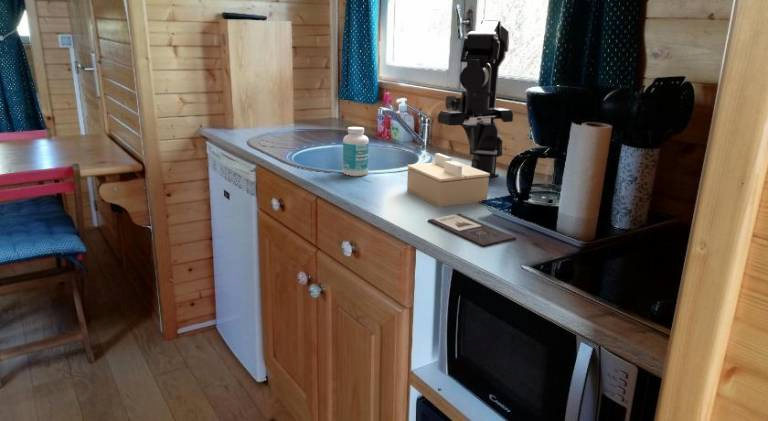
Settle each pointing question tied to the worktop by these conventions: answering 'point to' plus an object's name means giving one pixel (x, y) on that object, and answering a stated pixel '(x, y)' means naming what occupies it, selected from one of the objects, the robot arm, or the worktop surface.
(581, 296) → the worktop surface
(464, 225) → the chocolate bar
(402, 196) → the worktop surface
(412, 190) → the carton
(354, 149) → the pill bottle
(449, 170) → the outer lid
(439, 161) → the inner lid
